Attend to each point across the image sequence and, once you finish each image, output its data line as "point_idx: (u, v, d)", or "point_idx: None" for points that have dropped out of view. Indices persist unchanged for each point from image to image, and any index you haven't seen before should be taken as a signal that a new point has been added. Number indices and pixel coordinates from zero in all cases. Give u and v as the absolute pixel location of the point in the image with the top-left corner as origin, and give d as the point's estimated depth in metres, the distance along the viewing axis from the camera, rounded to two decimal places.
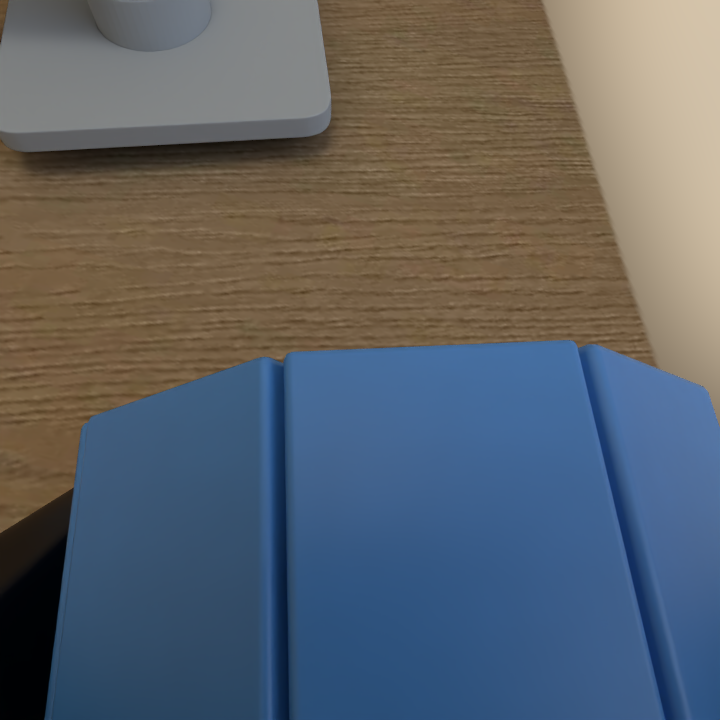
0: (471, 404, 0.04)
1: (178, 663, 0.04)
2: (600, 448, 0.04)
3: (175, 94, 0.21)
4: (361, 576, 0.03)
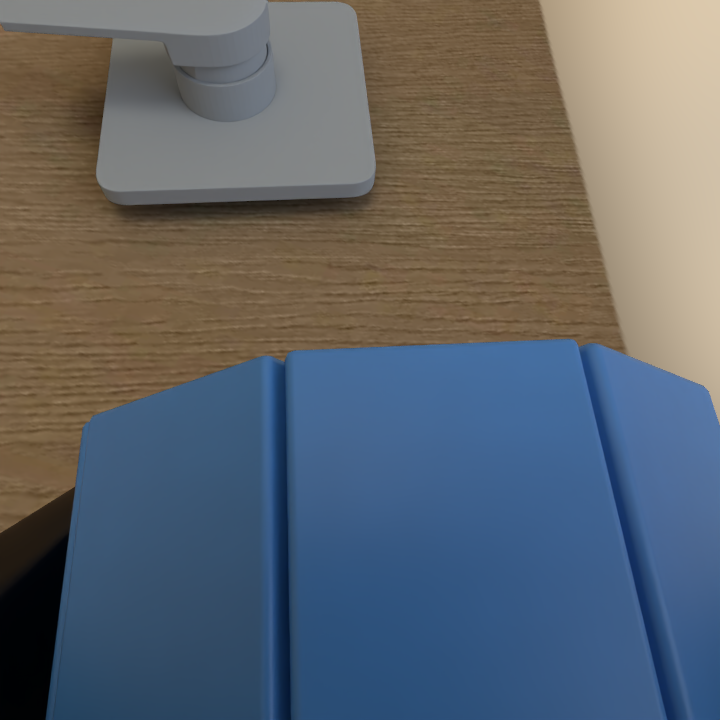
0: (472, 402, 0.04)
1: (179, 661, 0.04)
2: (601, 446, 0.04)
3: (247, 160, 0.25)
4: (362, 574, 0.03)
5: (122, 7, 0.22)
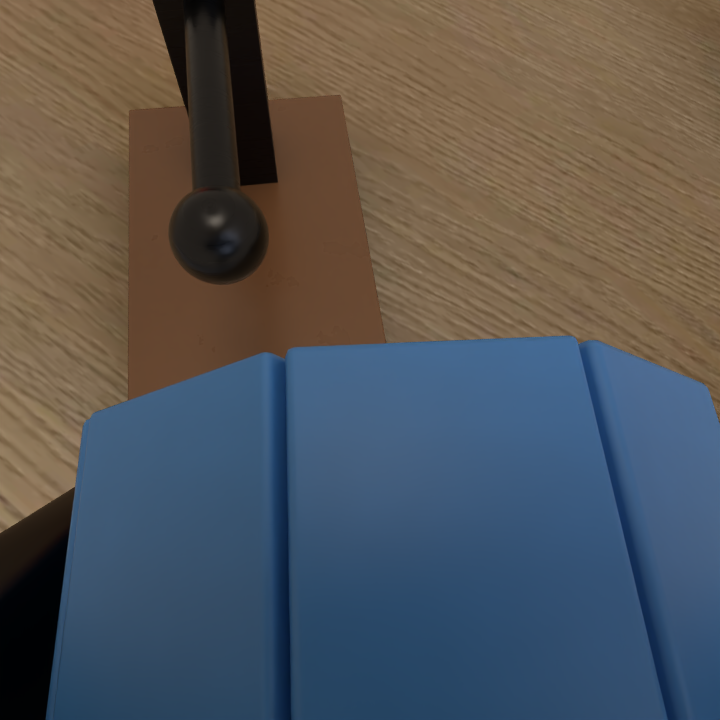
0: (472, 399, 0.04)
1: (180, 657, 0.04)
2: (601, 443, 0.04)
3: None
4: (363, 570, 0.03)
5: None
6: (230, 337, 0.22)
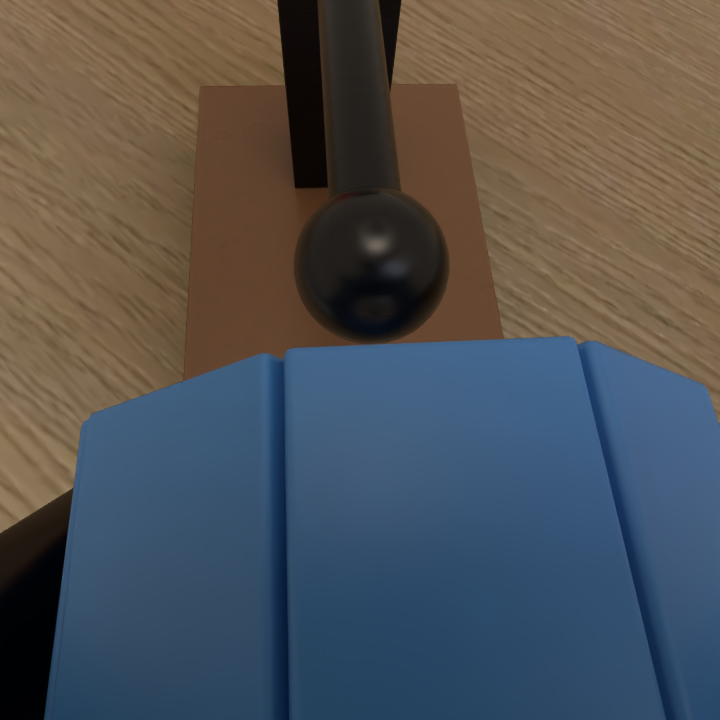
0: (470, 400, 0.04)
1: (178, 658, 0.04)
2: (599, 443, 0.04)
3: None
4: (361, 571, 0.03)
5: None
6: None
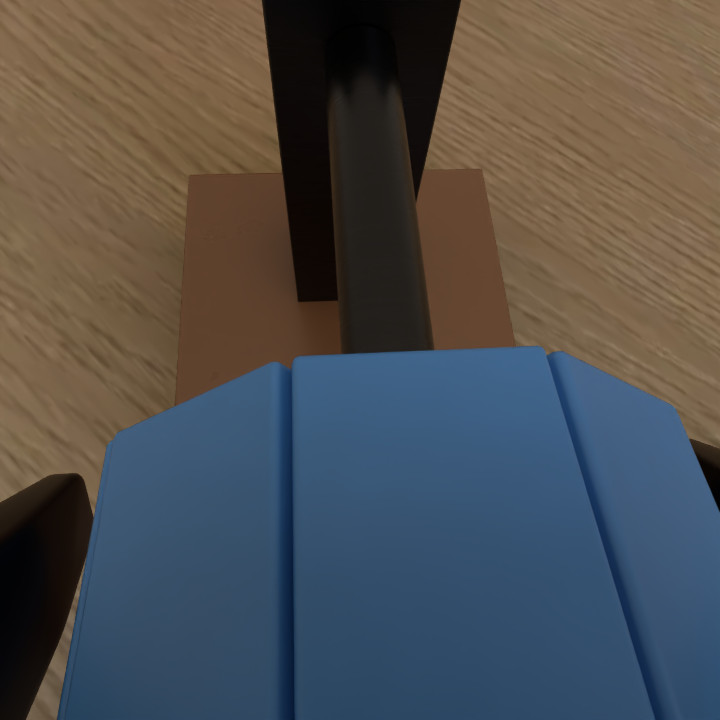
0: (454, 396, 0.04)
1: (192, 630, 0.04)
2: (569, 433, 0.04)
3: None
4: (359, 538, 0.04)
5: None
6: None
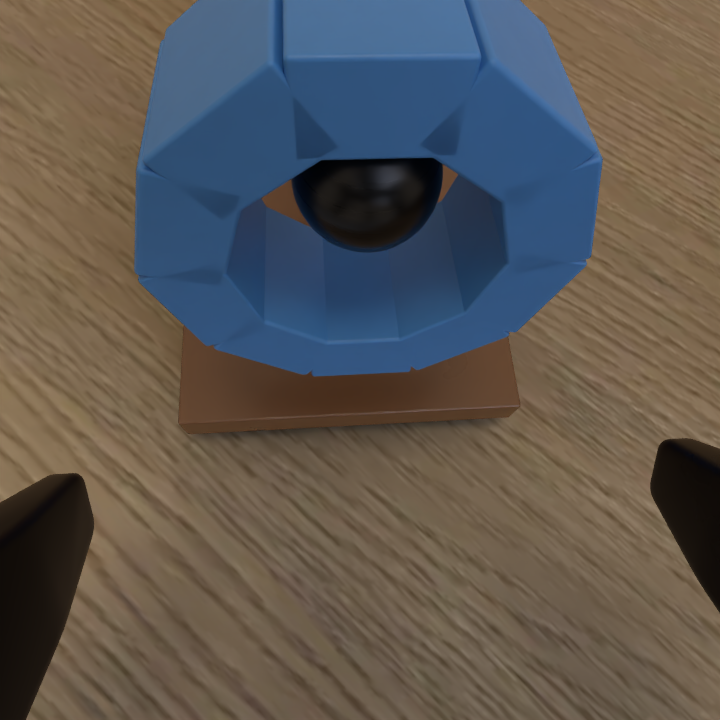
0: None
1: (224, 49, 0.07)
2: None
3: None
4: None
5: None
6: None
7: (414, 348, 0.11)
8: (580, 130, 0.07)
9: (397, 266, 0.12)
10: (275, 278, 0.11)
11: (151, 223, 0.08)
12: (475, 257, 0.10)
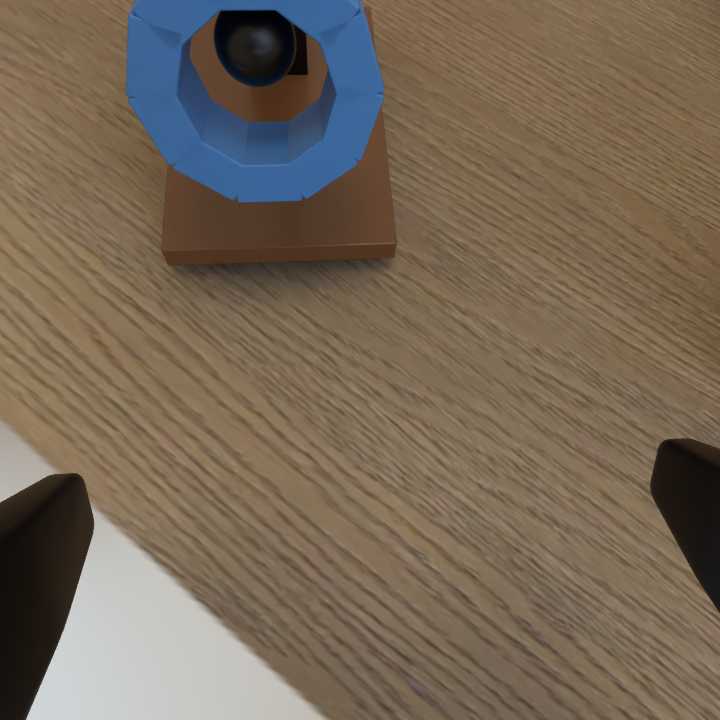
0: None
1: None
2: None
3: None
4: None
5: None
6: None
7: (299, 174, 0.18)
8: None
9: (292, 134, 0.19)
10: (212, 128, 0.18)
11: (135, 53, 0.15)
12: (327, 106, 0.17)
